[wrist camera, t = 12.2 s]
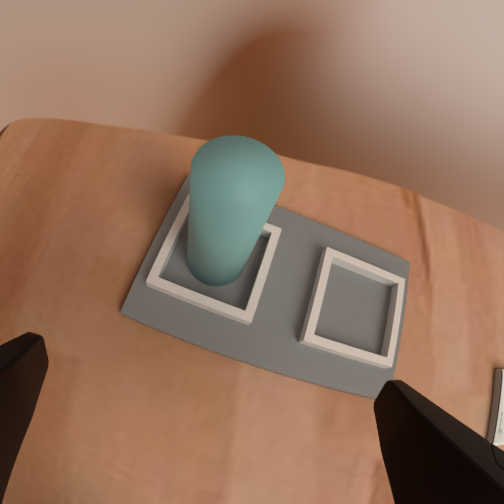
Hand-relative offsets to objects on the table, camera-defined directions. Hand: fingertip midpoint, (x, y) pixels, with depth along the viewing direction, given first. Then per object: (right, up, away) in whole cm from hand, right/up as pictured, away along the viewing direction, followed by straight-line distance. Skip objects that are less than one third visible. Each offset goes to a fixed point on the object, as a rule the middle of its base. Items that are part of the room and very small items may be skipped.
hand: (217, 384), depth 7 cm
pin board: (+3, 0, +16) cm, 16 cm away
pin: (-2, +3, +15) cm, 16 cm away
